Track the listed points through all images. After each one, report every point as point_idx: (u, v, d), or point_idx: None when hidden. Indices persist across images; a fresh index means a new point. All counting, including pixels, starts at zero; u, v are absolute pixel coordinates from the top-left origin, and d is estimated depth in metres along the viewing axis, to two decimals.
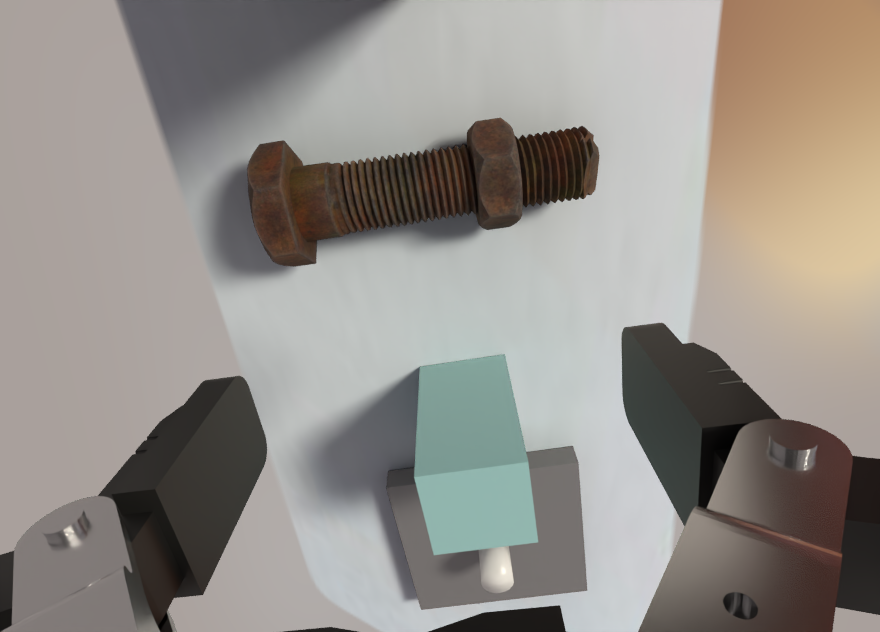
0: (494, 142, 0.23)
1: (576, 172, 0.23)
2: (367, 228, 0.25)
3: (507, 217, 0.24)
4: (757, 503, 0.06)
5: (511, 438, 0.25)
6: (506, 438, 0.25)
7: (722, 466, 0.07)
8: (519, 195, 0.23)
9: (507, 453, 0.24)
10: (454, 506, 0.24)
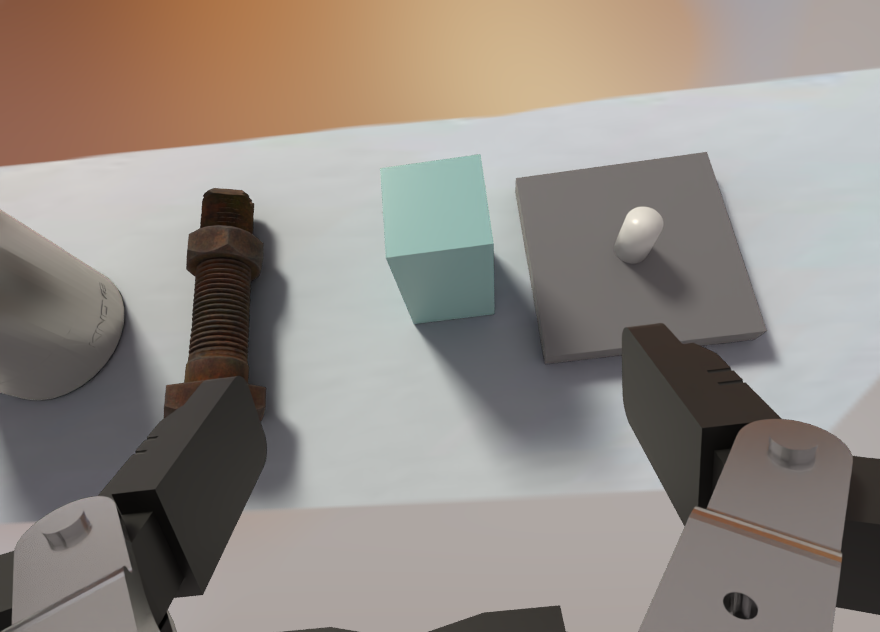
0: None
1: (217, 197, 0.34)
2: (234, 337, 0.31)
3: (236, 235, 0.33)
4: (756, 503, 0.06)
5: None
6: None
7: (722, 466, 0.07)
8: (216, 226, 0.33)
9: None
10: (426, 224, 0.25)
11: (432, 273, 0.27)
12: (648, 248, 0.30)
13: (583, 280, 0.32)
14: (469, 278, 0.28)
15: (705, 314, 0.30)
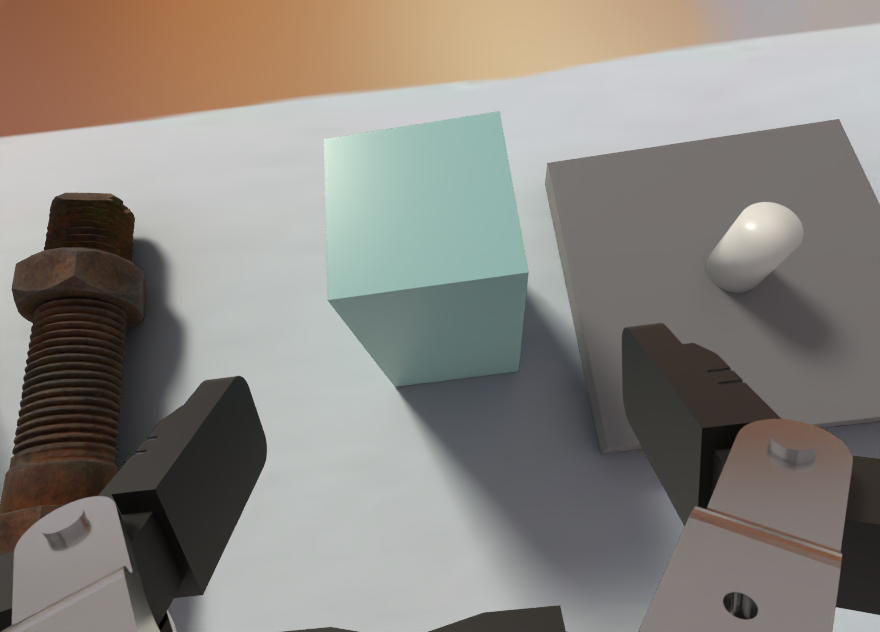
0: None
1: (67, 206, 0.23)
2: (85, 425, 0.19)
3: (92, 262, 0.21)
4: (757, 503, 0.06)
5: None
6: None
7: (722, 466, 0.07)
8: (59, 249, 0.21)
9: None
10: (402, 237, 0.14)
11: (418, 322, 0.15)
12: (771, 270, 0.19)
13: (660, 320, 0.20)
14: (482, 327, 0.16)
15: (866, 376, 0.19)
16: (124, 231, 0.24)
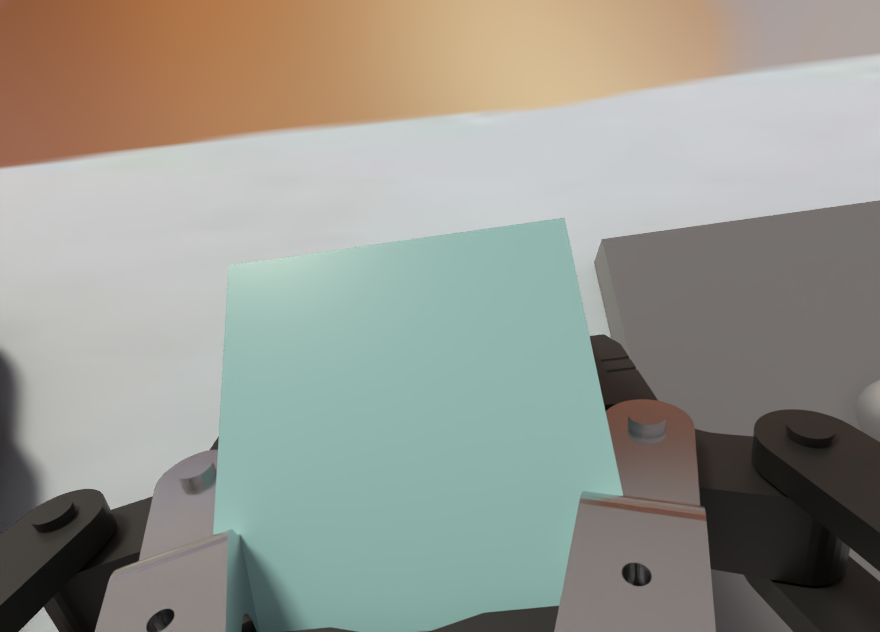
0: None
1: None
2: None
3: None
4: None
5: None
6: None
7: None
8: None
9: None
10: (371, 498, 0.07)
11: None
12: None
13: None
14: None
15: None
16: None
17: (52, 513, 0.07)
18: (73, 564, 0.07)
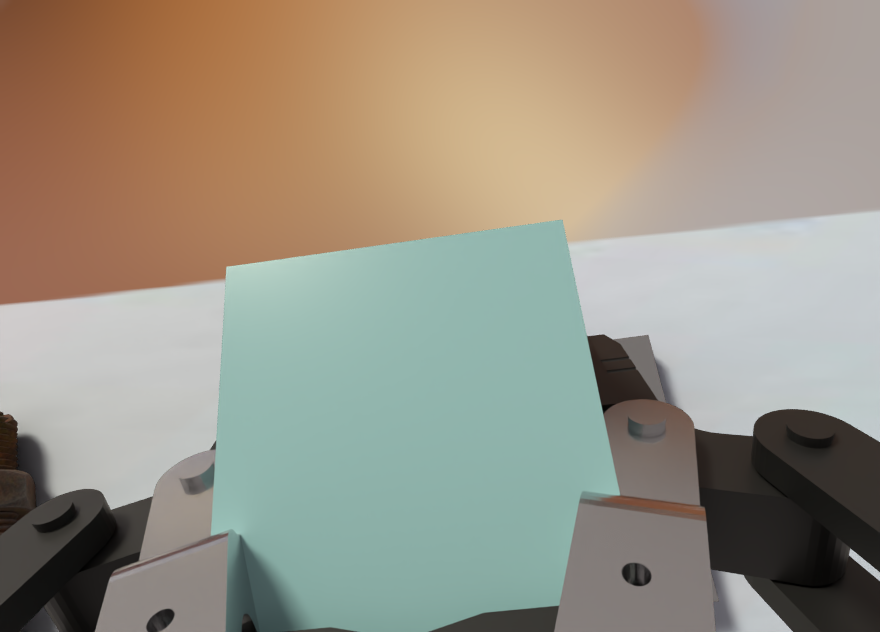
0: None
1: None
2: None
3: None
4: None
5: None
6: None
7: None
8: None
9: None
10: (369, 500, 0.07)
11: None
12: None
13: None
14: None
15: None
16: (7, 439, 0.28)
17: (53, 512, 0.07)
18: (73, 564, 0.07)
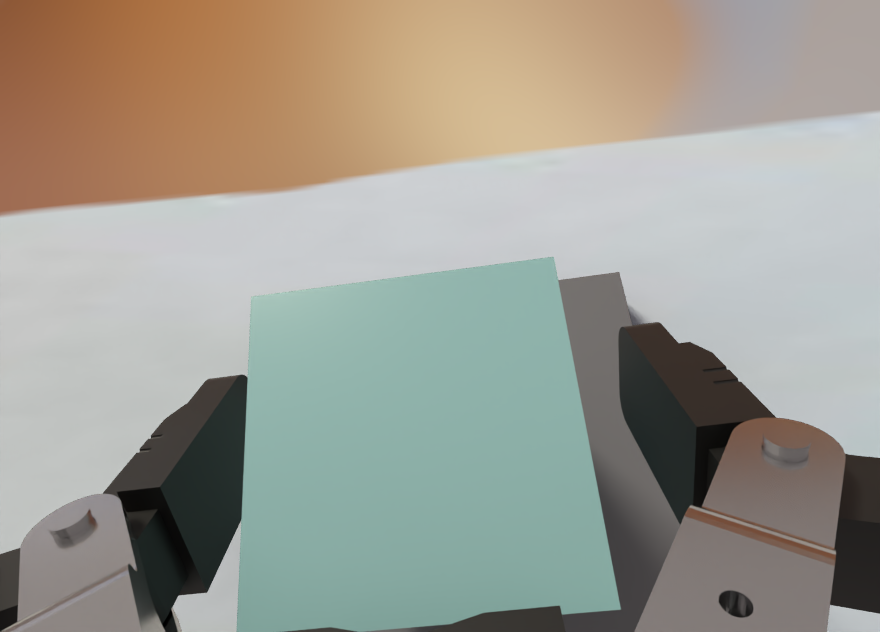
0: None
1: None
2: None
3: None
4: (750, 501, 0.06)
5: None
6: None
7: (716, 465, 0.07)
8: None
9: None
10: (380, 509, 0.08)
11: None
12: None
13: None
14: None
15: None
16: None
17: None
18: None
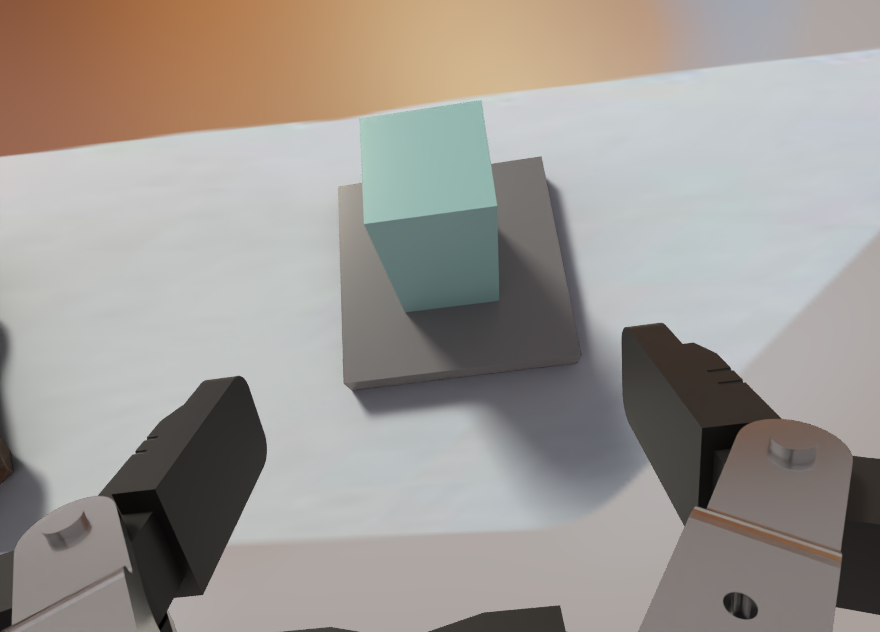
0: None
1: None
2: None
3: None
4: (756, 503, 0.06)
5: None
6: None
7: (722, 466, 0.07)
8: None
9: None
10: (414, 183, 0.21)
11: (423, 247, 0.22)
12: None
13: (393, 298, 0.29)
14: (469, 253, 0.23)
15: (517, 335, 0.27)
16: None
17: None
18: None
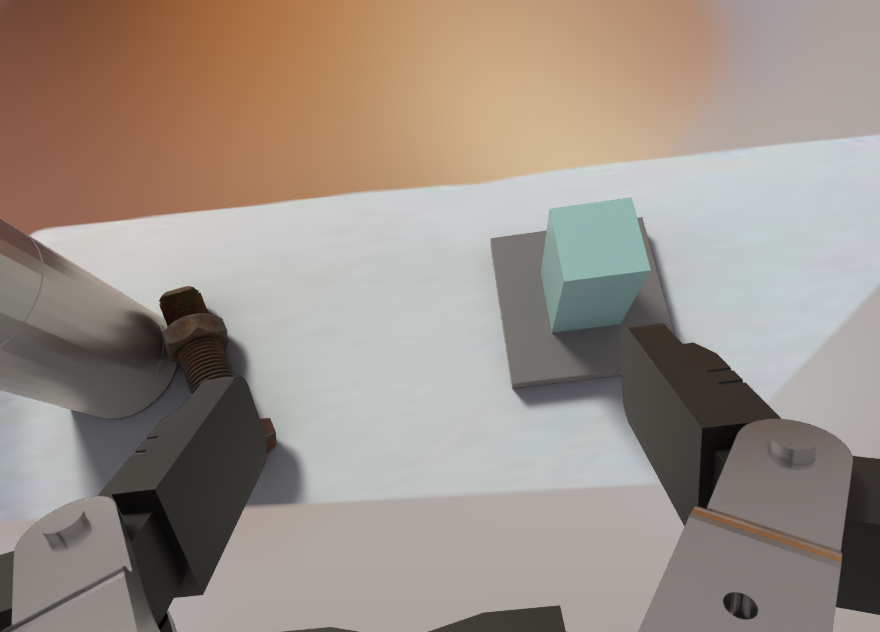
0: (165, 344, 0.41)
1: (172, 298, 0.42)
2: None
3: (201, 319, 0.41)
4: (757, 503, 0.06)
5: (549, 229, 0.35)
6: (549, 233, 0.35)
7: (722, 466, 0.07)
8: (183, 318, 0.41)
9: (551, 226, 0.34)
10: (593, 254, 0.32)
11: (591, 293, 0.34)
12: None
13: (542, 322, 0.40)
14: (617, 296, 0.35)
15: None
16: (202, 303, 0.44)
17: None
18: None
